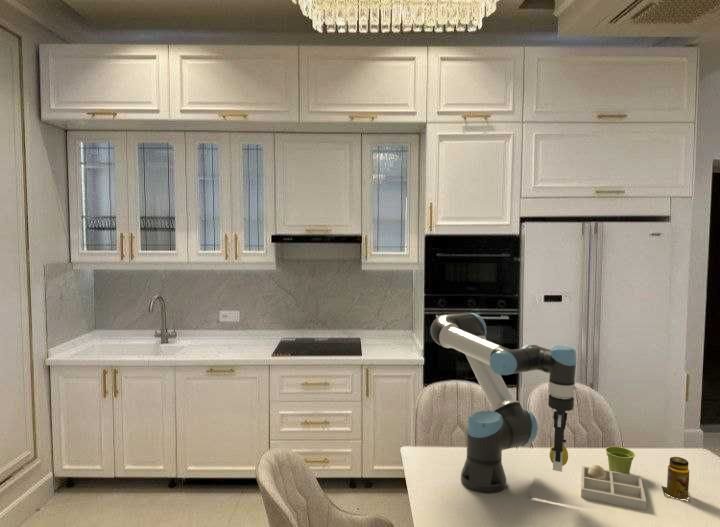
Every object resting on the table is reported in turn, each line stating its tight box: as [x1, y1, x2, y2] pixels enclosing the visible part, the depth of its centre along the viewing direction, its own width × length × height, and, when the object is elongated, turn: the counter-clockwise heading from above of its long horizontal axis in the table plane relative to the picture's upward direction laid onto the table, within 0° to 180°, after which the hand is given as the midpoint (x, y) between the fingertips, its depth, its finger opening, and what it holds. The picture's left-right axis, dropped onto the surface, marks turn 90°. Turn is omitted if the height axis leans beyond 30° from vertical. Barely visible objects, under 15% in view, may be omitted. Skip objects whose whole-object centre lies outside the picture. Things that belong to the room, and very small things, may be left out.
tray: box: [580, 465, 647, 511], centre depth 172 cm, size 18×18×4 cm
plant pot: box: [604, 446, 636, 474], centre depth 184 cm, size 9×9×9 cm
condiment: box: [661, 456, 691, 503], centre depth 171 cm, size 7×8×12 cm
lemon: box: [549, 444, 569, 467], centre depth 166 cm, size 6×6×8 cm
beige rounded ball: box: [588, 464, 606, 480], centre depth 177 cm, size 6×6×6 cm
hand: (557, 466), depth 166 cm, fingers closed on lemon, 5 cm apart
